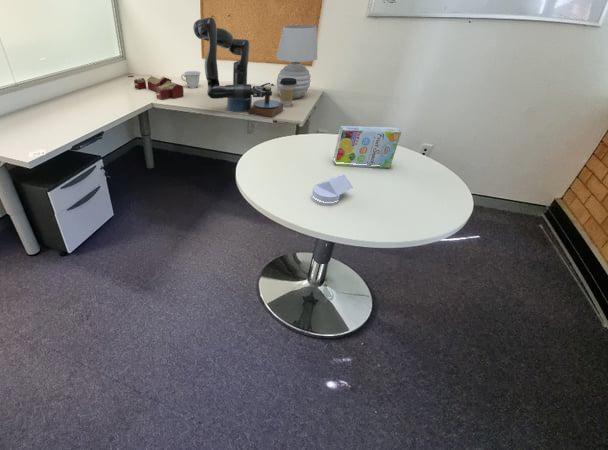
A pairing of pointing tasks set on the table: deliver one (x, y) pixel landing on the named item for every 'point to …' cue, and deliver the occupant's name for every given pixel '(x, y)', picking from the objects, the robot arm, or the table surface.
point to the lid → (267, 102)
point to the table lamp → (297, 55)
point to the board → (266, 111)
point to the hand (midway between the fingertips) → (271, 91)
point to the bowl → (239, 104)
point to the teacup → (191, 78)
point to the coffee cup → (287, 91)
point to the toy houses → (161, 87)
